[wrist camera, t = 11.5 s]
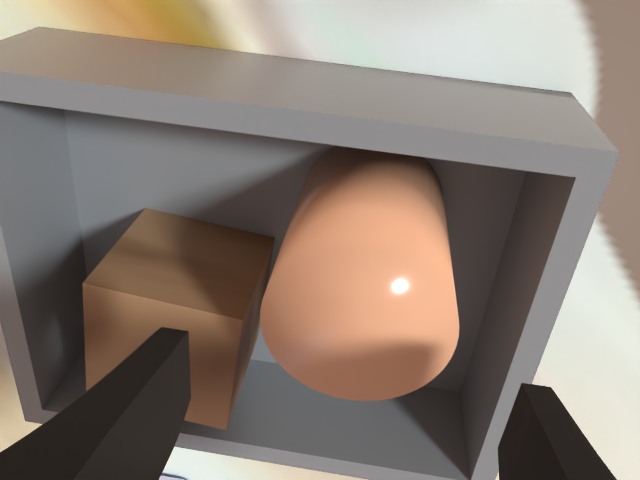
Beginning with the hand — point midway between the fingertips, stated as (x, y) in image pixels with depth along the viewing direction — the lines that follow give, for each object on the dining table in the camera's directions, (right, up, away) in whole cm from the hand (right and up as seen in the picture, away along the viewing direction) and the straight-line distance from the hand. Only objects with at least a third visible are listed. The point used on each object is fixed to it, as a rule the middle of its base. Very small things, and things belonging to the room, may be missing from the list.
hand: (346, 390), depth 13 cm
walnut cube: (-5, +2, +11) cm, 12 cm away
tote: (-2, +3, +10) cm, 11 cm away
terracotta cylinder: (+1, +5, +8) cm, 9 cm away
